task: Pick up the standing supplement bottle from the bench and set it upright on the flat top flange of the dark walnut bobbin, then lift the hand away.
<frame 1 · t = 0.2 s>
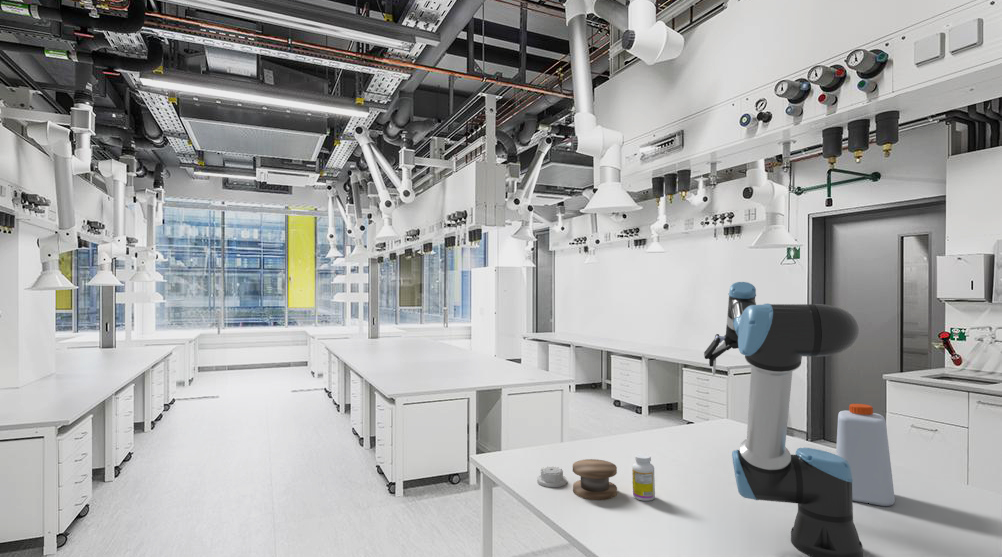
hand: (734, 372, 178), 36 cm above the lab bench, tool tilted 35°, fingers open, 13 cm apart
mechanical component: (551, 483, 173), on the lab bench
supplement bottle: (643, 498, 159), on the lab bench
plastic bottle: (863, 496, 159), on the lab bench
bobbin: (594, 491, 165), on the lab bench
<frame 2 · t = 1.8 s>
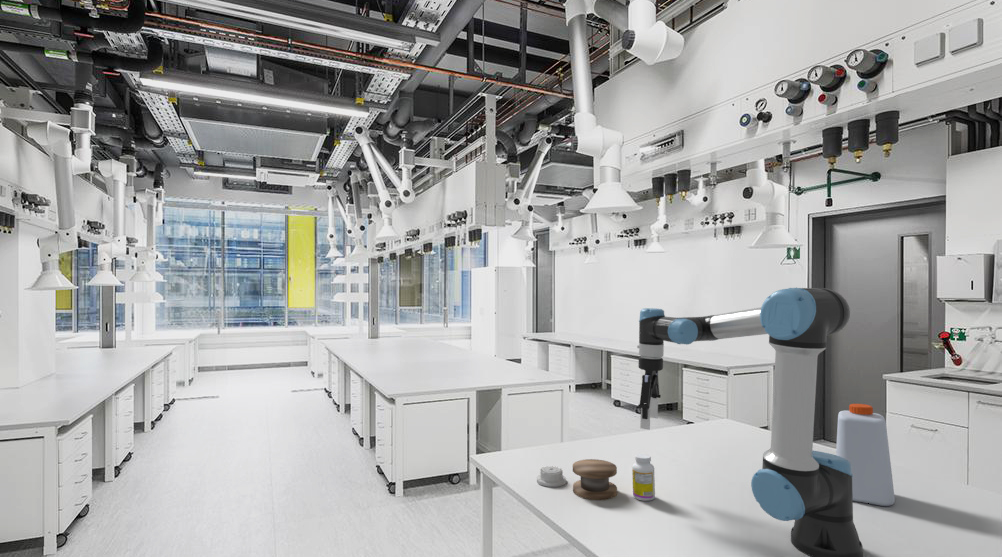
hand: (649, 423, 163), 22 cm above the lab bench, tool pointing down, fingers open, 13 cm apart
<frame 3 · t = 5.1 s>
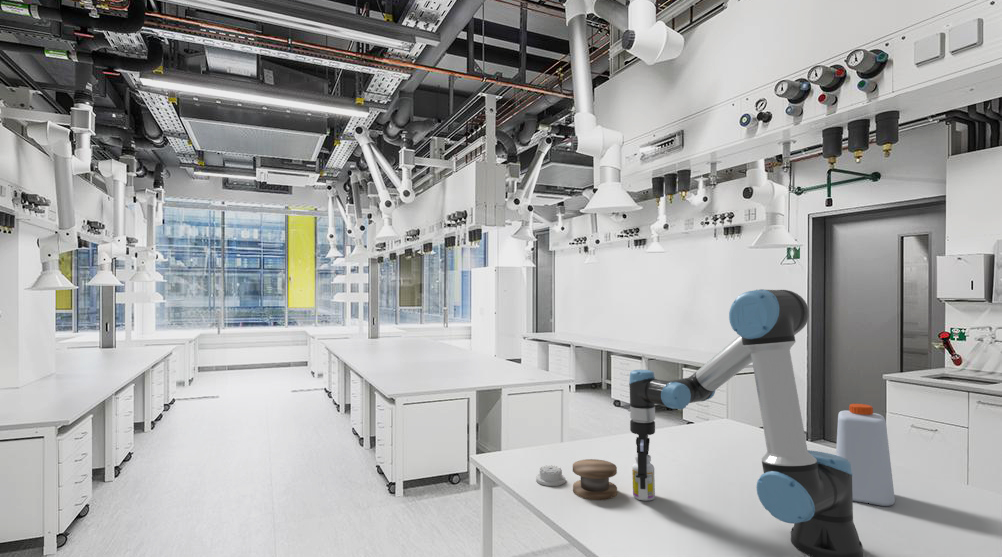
hand: (643, 494, 159), 1 cm above the lab bench, tool pointing down, fingers closed on supplement bottle, 7 cm apart
supplement bottle: (643, 498, 159), on the lab bench, touching gripper
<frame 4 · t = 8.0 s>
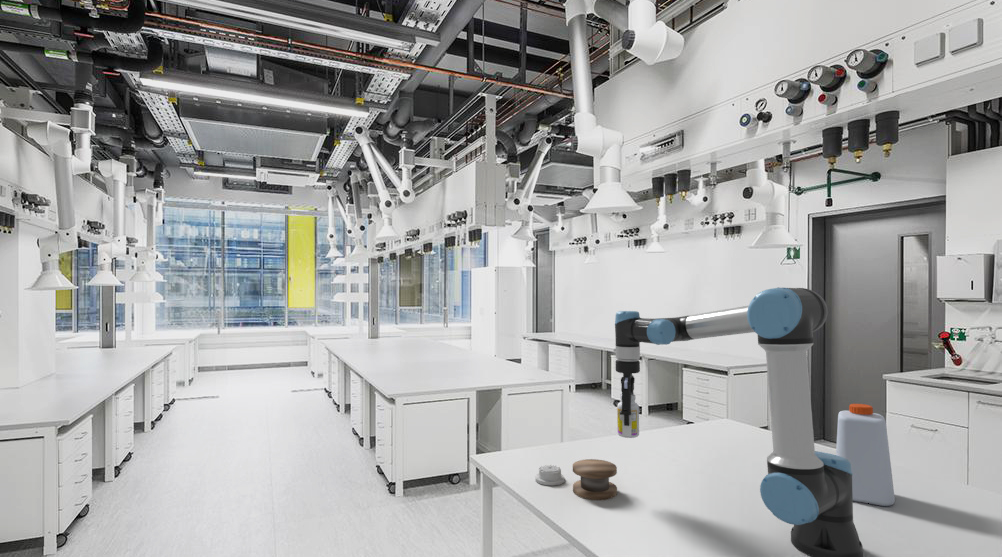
hand: (628, 432, 162), 20 cm above the lab bench, tool pointing down, fingers closed on supplement bottle, 7 cm apart
supplement bottle: (628, 436, 162), point 18 cm above the lab bench, touching gripper
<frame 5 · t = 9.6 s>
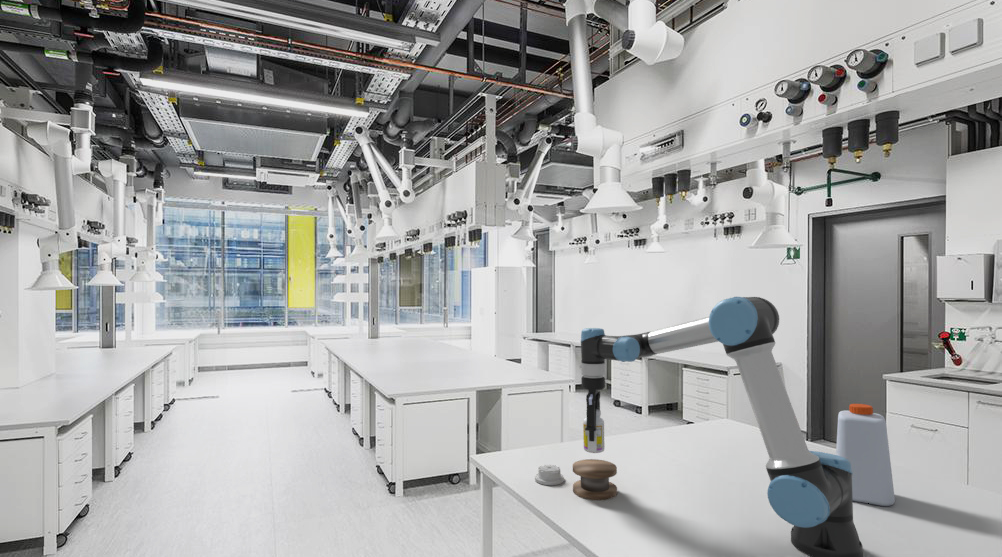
hand: (594, 447, 165), 14 cm above the lab bench, tool pointing down, fingers closed on supplement bottle, 7 cm apart
supplement bottle: (593, 451, 165), point 13 cm above the lab bench, touching gripper
when the fingers open (10 cm above the lab bench, at t = 11.0 s): supplement bottle drops 1 cm, resting on bobbin.
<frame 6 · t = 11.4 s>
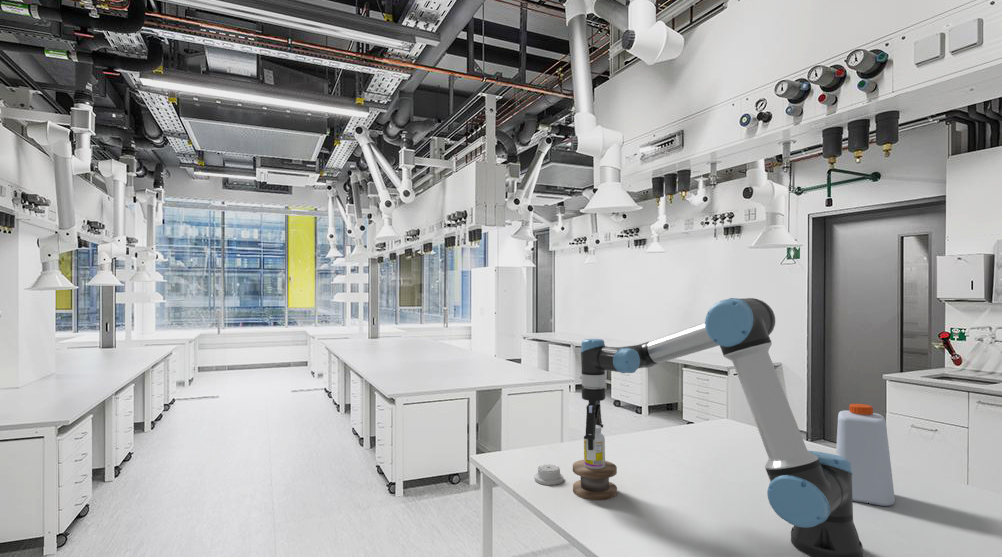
hand: (594, 453, 165), 12 cm above the lab bench, tool pointing down, fingers open, 12 cm apart
supplement bottle: (594, 467, 165), point 8 cm above the lab bench, touching bobbin
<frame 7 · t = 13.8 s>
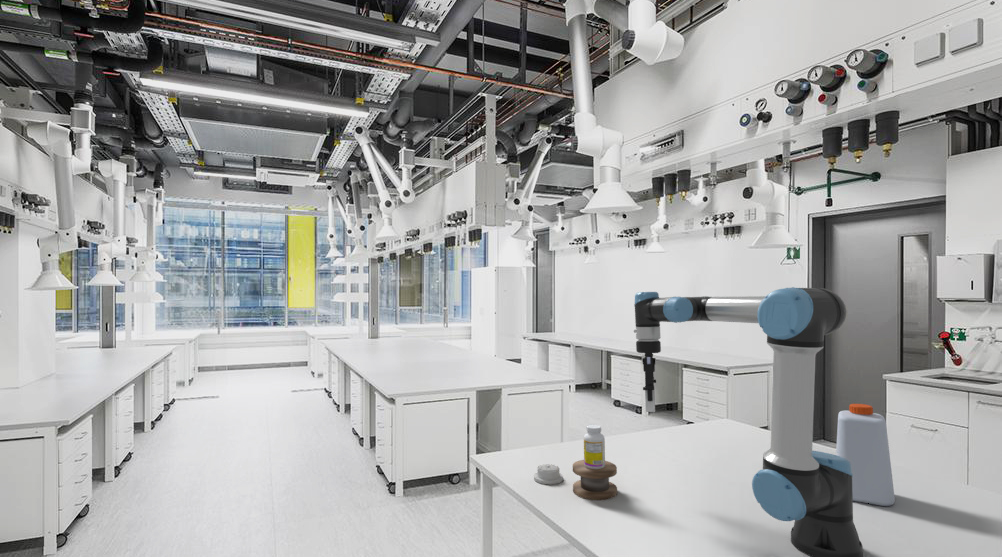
hand: (650, 407, 162), 27 cm above the lab bench, tool pointing down, fingers open, 13 cm apart
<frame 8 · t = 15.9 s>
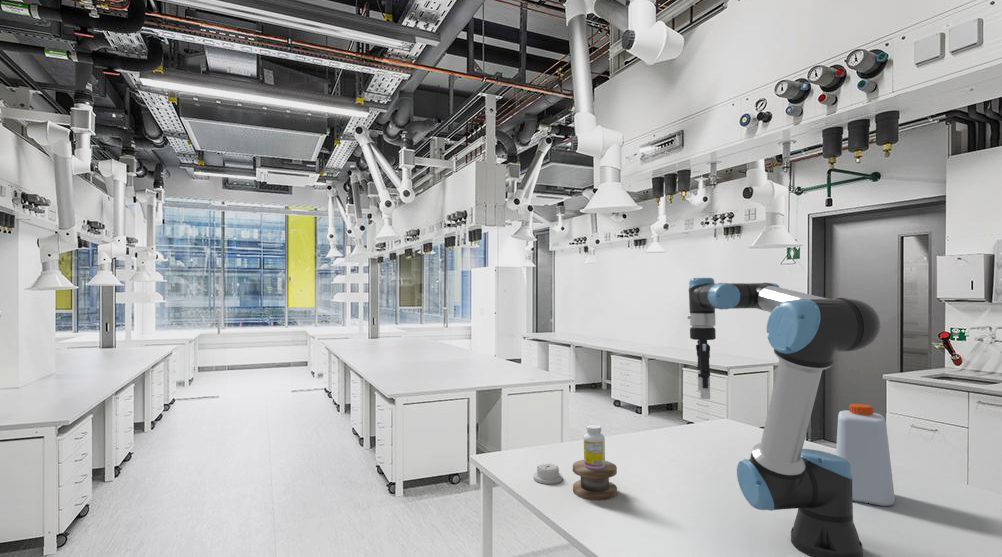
hand: (703, 394, 160), 32 cm above the lab bench, tool pointing down, fingers open, 13 cm apart
at the end: supplement bottle inside the target area on the bobbin (0.3 cm from its centre), point 7.8 cm above the bobbin's base; supplement bottle tilted 0°; the gripper is holding nothing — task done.
